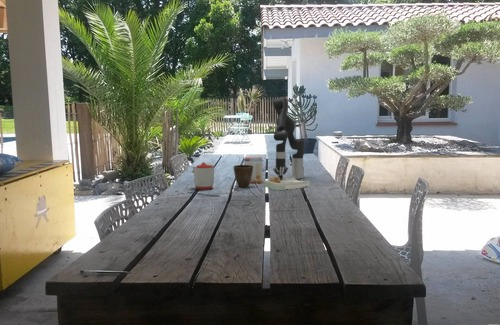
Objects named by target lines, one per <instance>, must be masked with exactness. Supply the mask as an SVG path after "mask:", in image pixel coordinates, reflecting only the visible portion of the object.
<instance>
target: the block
mask: <svg viewBox="0 0 500 325" xmlns="http://www.w3.org/2000/svg"><path fill="white" fill-rule="evenodd" d="M269 180H270V182H273V183H280V178H279V176H271V177H269Z"/></svg>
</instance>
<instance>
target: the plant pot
mask: <svg viewBox="0 0 500 325" xmlns="http://www.w3.org/2000/svg"><path fill="white" fill-rule="evenodd" d="M233 171H234V177H235V181H236V184H237V186H238V188H240V189H244V188H249V186H250V184H251V183H250V181H251V177H252V172H253V166H251V165H244V164H240V165H239V164H237V165H234V166H233Z"/></svg>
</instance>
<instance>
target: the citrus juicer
mask: <svg viewBox="0 0 500 325" xmlns="http://www.w3.org/2000/svg"><path fill="white" fill-rule="evenodd" d="M191 173H192V174H193V182H194V185H195V186H194V187H195V189H196V190H203V191H204V190H205V191H208V190H210V189H211V190H212V189H213V187H214V181H215V165H211V164H207V163H206V162H204V161H203V162H202V163H201V164H198V165H196V166H193V167H192V171H191Z"/></svg>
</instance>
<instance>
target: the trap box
mask: <svg viewBox="0 0 500 325" xmlns="http://www.w3.org/2000/svg"><path fill="white" fill-rule="evenodd" d="M263 184H264V187H265V188H269V189H272V190H276V191H287V190H286V189H288V190H294V189H296V188H297V189H304V188H303V187H305V186H310V187H311V183H310V180H307V181H303V180H300V179H295V178H292V177H290V178H283V179H282V180H280V183H273V182H270V179H267V180H264V182H263ZM297 189H296V190H297Z"/></svg>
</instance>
